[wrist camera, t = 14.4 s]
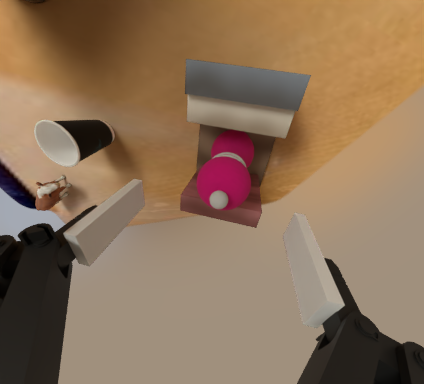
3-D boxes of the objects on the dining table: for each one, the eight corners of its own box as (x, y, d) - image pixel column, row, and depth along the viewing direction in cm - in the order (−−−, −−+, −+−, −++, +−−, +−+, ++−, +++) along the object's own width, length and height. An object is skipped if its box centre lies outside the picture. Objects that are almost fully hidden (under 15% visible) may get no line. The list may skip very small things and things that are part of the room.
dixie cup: (122, 153, 39) (83, 172, 30) (91, 144, 39) (43, 160, 30) (119, 117, 35) (72, 127, 25) (84, 108, 35) (25, 114, 26)
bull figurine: (80, 178, 46) (50, 193, 39) (65, 201, 52) (38, 218, 45) (66, 166, 45) (32, 179, 38) (53, 191, 51) (22, 207, 44)
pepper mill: (238, 170, 34) (228, 245, 17) (209, 150, 33) (167, 210, 16) (261, 140, 30) (277, 199, 13) (229, 117, 29) (201, 149, 13)
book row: (206, 71, 28) (174, 56, 16) (291, 83, 26) (324, 76, 15) (197, 173, 38) (174, 208, 26) (258, 185, 36) (262, 229, 25)
